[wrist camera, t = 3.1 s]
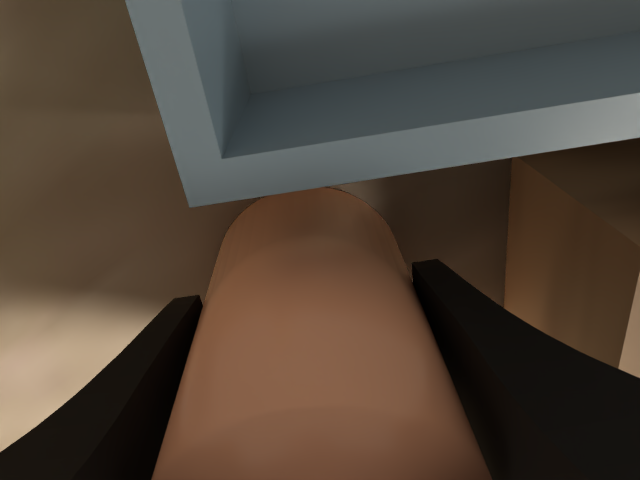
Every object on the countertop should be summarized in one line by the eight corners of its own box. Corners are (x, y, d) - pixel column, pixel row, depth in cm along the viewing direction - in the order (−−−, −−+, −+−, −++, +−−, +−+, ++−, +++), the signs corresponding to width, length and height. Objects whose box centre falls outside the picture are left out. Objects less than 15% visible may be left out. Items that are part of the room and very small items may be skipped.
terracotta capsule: (392, 172, 11) (504, 378, 5) (404, 327, 14) (491, 595, 8) (196, 202, 12) (85, 437, 5) (241, 351, 14) (198, 632, 8)
